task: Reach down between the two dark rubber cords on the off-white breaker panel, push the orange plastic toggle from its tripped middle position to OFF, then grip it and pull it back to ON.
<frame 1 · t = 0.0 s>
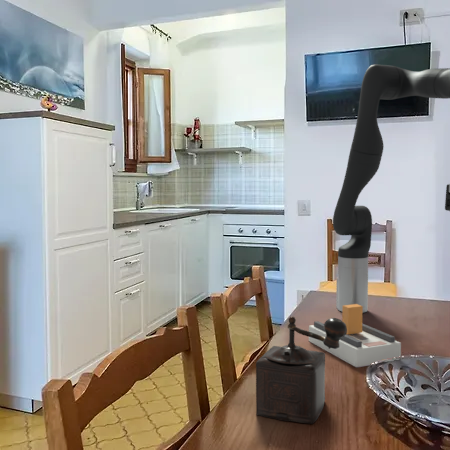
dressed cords: (352, 331, 118), on the breaker panel, point 4 cm above the table
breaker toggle: (352, 319, 118), point 8 cm above the table, slide at 3.0 cm
pepper mill: (304, 412, 87), on the table
breaker panel: (351, 349, 119), on the table
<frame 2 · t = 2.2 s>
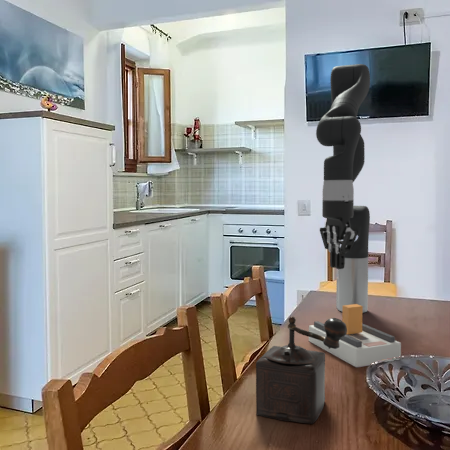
hand: (337, 267, 123), 19 cm above the table, fingers closed
nothing on the table moved.
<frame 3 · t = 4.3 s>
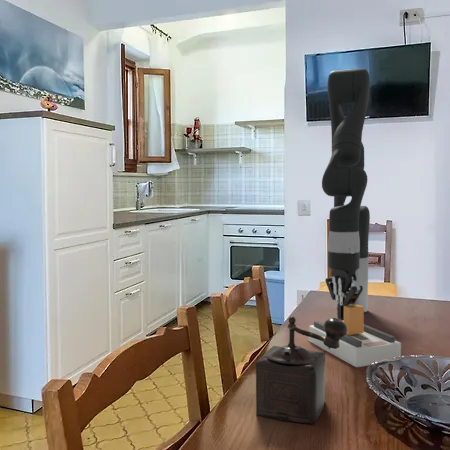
hand: (342, 319, 121), 7 cm above the table, fingers closed
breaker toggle: (353, 319, 118), point 8 cm above the table, slide at 3.5 cm, touching gripper
everything else where it was.
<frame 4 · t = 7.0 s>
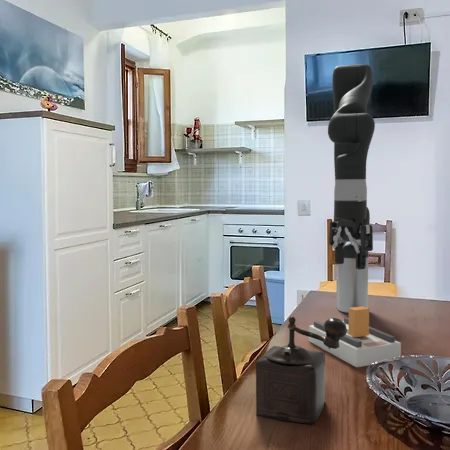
hand: (349, 266, 118), 20 cm above the table, fingers open, 8 cm apart
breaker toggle: (358, 321, 116), point 8 cm above the table, slide at 5.5 cm
everything else where it was.
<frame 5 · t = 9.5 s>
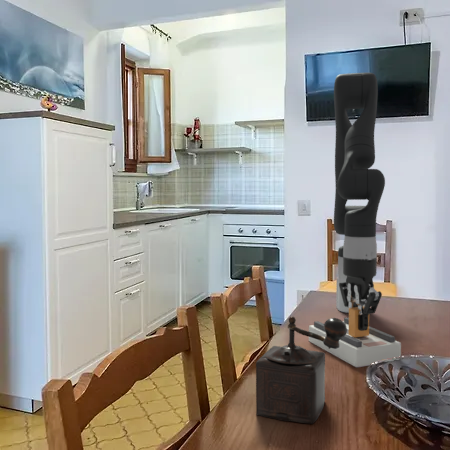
hand: (358, 328, 116), 6 cm above the table, fingers closed on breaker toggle, 2 cm apart
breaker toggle: (358, 321, 116), point 8 cm above the table, slide at 5.6 cm, touching gripper
everything else where it was.
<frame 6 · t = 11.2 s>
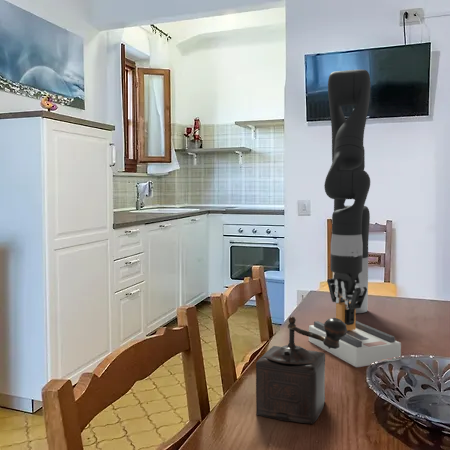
hand: (345, 322, 121), 6 cm above the table, fingers closed on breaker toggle, 2 cm apart
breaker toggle: (345, 316, 121), point 8 cm above the table, slide at 0.3 cm, touching gripper
everything else where it was.
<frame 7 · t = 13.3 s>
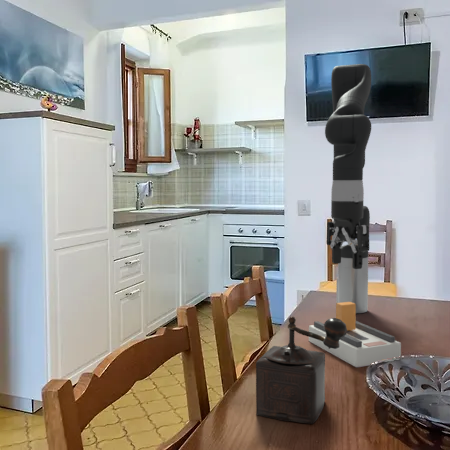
hand: (346, 265, 120), 20 cm above the table, fingers open, 8 cm apart
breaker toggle: (345, 316, 121), point 8 cm above the table, slide at 0.3 cm
everything else where it was.
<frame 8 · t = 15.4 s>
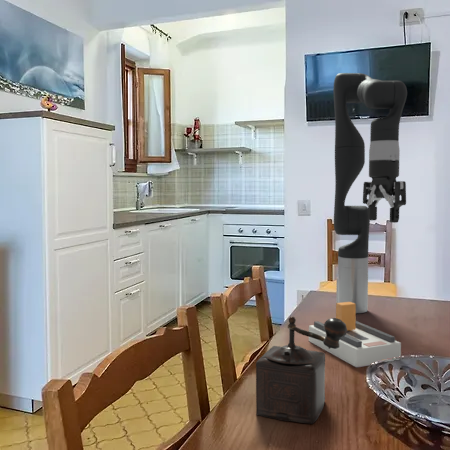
hand: (383, 221, 129), 30 cm above the table, fingers open, 8 cm apart
nothing on the table moved.
at the end: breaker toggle slide at 0.3 cm; the gripper is holding nothing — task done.
